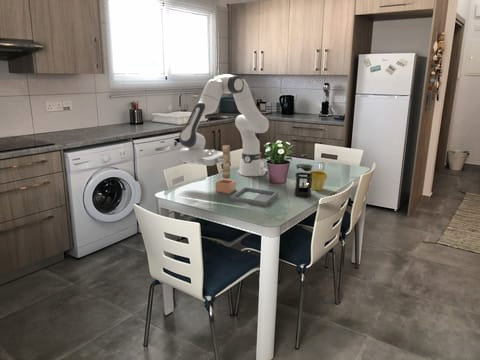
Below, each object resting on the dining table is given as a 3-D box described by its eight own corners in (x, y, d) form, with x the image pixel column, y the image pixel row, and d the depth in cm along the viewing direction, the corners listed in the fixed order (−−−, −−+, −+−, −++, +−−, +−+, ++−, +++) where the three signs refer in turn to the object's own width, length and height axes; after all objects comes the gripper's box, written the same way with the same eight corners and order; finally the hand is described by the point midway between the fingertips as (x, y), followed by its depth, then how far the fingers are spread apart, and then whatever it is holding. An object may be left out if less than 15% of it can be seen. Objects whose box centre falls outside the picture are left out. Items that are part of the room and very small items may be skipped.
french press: (302, 199, 213) (305, 157, 207) (289, 195, 220) (291, 154, 214) (316, 195, 221) (319, 154, 215) (303, 191, 228) (305, 151, 222)
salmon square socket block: (222, 188, 229) (222, 178, 228) (235, 190, 226) (235, 180, 224) (215, 192, 222) (215, 182, 220) (229, 194, 219) (229, 184, 217)
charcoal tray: (244, 191, 226) (244, 186, 225) (277, 196, 218) (278, 191, 217) (229, 201, 208) (229, 196, 207) (265, 206, 200) (265, 202, 200)
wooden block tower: (224, 176, 225) (224, 145, 220) (231, 177, 223) (231, 145, 218) (221, 178, 221) (221, 146, 216) (228, 178, 219) (228, 146, 214)
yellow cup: (323, 186, 238) (324, 170, 236) (327, 191, 228) (329, 175, 226) (306, 186, 238) (307, 170, 235) (309, 191, 228) (311, 174, 225)
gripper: (196, 155, 214) (219, 158, 209) (213, 148, 232) (235, 150, 227) (196, 167, 216) (219, 169, 211) (214, 159, 234) (235, 161, 229)
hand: (227, 159), depth 219 cm, fingers closed on wooden block tower, 4 cm apart
